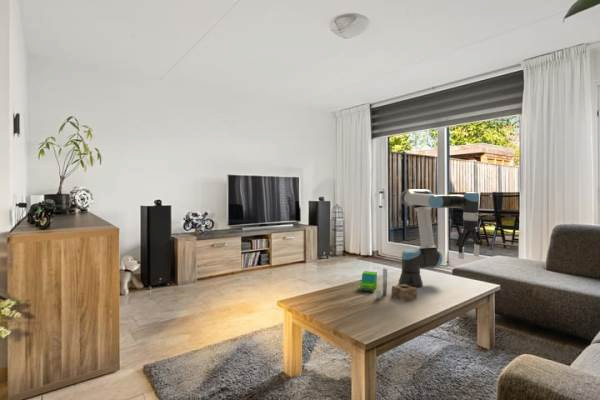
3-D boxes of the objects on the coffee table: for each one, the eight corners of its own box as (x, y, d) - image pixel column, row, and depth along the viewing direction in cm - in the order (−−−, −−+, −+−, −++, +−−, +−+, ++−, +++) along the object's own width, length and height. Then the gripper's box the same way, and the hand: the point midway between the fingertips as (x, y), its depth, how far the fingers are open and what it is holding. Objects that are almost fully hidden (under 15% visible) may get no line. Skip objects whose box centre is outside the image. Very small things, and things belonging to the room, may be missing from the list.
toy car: (358, 291, 210) (358, 275, 210) (362, 285, 223) (362, 270, 222) (374, 293, 206) (374, 277, 206) (378, 287, 219) (378, 272, 218)
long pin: (381, 294, 204) (382, 268, 204) (384, 294, 205) (385, 268, 205) (384, 296, 202) (384, 269, 201) (387, 295, 203) (387, 269, 202)
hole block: (391, 295, 203) (392, 286, 202) (404, 293, 207) (404, 283, 207) (403, 301, 194) (404, 290, 193) (416, 298, 198) (417, 288, 198)
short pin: (375, 299, 196) (375, 291, 196) (378, 299, 197) (378, 290, 197) (378, 301, 194) (378, 292, 193) (381, 300, 195) (381, 291, 195)
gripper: (462, 221, 180) (460, 261, 181) (490, 219, 192) (488, 256, 193) (450, 220, 186) (448, 258, 188) (478, 217, 198) (476, 253, 200)
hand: (468, 257), depth 190 cm, fingers open, 13 cm apart
